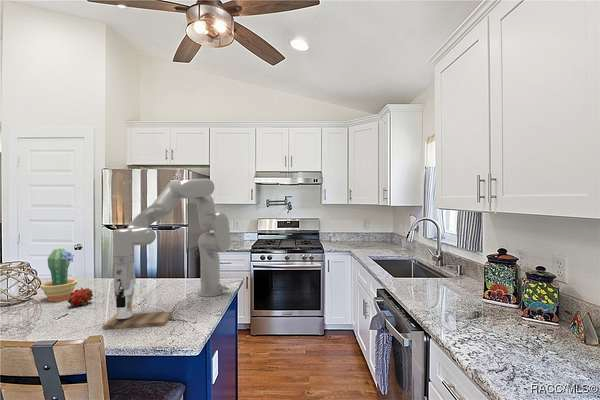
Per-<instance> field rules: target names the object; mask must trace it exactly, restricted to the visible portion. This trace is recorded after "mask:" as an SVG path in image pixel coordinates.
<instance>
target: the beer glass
mask: <svg viewBox="0 0 600 400" xmlns="http://www.w3.org/2000/svg"><path fill="white" fill-rule="evenodd" d="M120 289H123V287H120ZM114 290H115V289H114ZM113 292H114V299H115V300H116V294H115V291H113ZM120 292H123V291H120ZM134 296H135V285H134V281H133V279H132V280H130V288H129V289H128V290H126V289H125V296H124V297H125V299H126V306H125V307H124V308H117V307H116V309H117V311H116V314H117V316H116V319H119V320H123V319H128V318H131V317H133V314H134V311H133V301H134Z"/></svg>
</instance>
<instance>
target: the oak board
mask: <svg viewBox="0 0 600 400" xmlns="http://www.w3.org/2000/svg"><path fill="white" fill-rule="evenodd" d="M116 316H117V313H116V314H115V315H114V316H113V317H112V318H111V319H109V320H108V321H107V322H105V324H103V326H102V329H103V330H104V331H105V330H116V329H115V328H120V329H132V328H131V327H136V328H149V327H165V325H166V324H167V323H168V322H169V320H170V319H171V317H172V316H173V311H172V310H171V311H170V310H169V311H157V312H152V311H151V312H135V313H134V312H133V317H131V318H128V319H123V320H119V319H116ZM169 318H170V319H169Z"/></svg>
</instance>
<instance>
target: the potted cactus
mask: <svg viewBox="0 0 600 400" xmlns="http://www.w3.org/2000/svg"><path fill="white" fill-rule="evenodd" d="M73 262H74V255H73V254H72V252H70V251H68V250H66V249H65V248H60V247H59V248H54V249H53V250H52V251H51V253H50V254H49V256H47V266H48V267H47V268H48V269H49V272H50V276H51V280H50V281H46V282H43V283H40V284H41V285H39V287H40V290H42V291H43V293H44V295H45V296H46V297H47V299H48V302H61V301H65V300H69V297H70V294H71V293H72V292H74V291H75V290H74V289H75V288H76V285H78V279H74V278H68V274H69V273H68V272H69V271H68V270H69V267H70V265H71V264H70V263H73Z"/></svg>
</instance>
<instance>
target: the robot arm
mask: <svg viewBox="0 0 600 400" xmlns="http://www.w3.org/2000/svg"><path fill="white" fill-rule="evenodd" d="M214 191H215V183H214V182H213V180H212V179H209V178H206V177H205V178H204V177H203V178H191V179H182V180H181V179H180V180H179V179H178V180H172V181H170V182H168V183H167V185H166V186H165V187H164V188H163V190H162V191H161V192H160V193H159V195H158V197H157V198H156V199H155V200H154V201H153V203H152V204H151V205H149V206H148V207H147V208H145V209H144V210H142V211H141V212H140V213H138V215H136V216H135V218H133V220H132V221H131V222H130V223H129V224H128V226H127V228H117V229H114V230H113V232H112V264H113V265H114V270H113V272H114V273H113V288H114V289H115V290H114V291H115V292H114V291H113V292H114V295H115V294H116V299H115V304H116V306H115V307H116V309H117V308H124V307H125V306H126V299H125V297H124V296H125V289H126V290H128V289H129V288H130V280H132V279H133V281H134V286H135V284H136V269H135V268H136V267H135V246H148V245H151V244H152V243H153V242H154V241H155V240H156V238H157V234H156V232H155V230H154V229H153V228H151V227H150V226H152V224H154V223H155V222H157V221H159V220H162V219H164V218H167V217H168V216H170V215H171V214H172V212H173V211H174V209H175V208H176V206H177V205H178V203H179V202H180V201H181V200H182V199H193V200H194V201H195V204H196V207H197V214H198V215H197V217H198V224H199V227H200V228H201V229H202V230H205V231H207V232H203V233H201V234H200V236H199V237H198V240H197V243H198V244H197V245H198V250H199V256H200V290H198V292H197V296H199V297H202V298H203V297H204V298H213V297H218V296H220V295H223V293H224V290H225V291H229V288H230V287H229V285H226V284H225V285H222V283H221V280H220V279H221V278H220V277H221V276H220V275H221V273H220V265H221V263H220V260H221V259H220V255H219V253H225V252H226V251H228V250H229V249H230V246H231V241H232V240H231V230H230V222H229V218H228V216H227V214H226V213H224V212H222V211H216V208H215V207H216V206H215V202H214V198H213V196H212V194H213V193H214ZM212 231H213V232H212ZM120 287H123V289H120ZM120 291H123V292H120Z"/></svg>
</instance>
